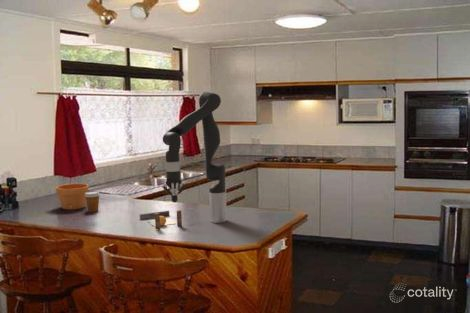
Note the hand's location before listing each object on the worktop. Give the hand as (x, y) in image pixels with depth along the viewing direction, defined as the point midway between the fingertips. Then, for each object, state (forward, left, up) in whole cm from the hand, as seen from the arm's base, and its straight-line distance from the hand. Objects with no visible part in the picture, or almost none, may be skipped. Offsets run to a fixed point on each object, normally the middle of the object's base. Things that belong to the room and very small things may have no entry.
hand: (174, 202), depth 285 cm
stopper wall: (-42, 0, -17) cm, 45 cm away
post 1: (-13, -6, -17) cm, 22 cm away
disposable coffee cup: (-83, -30, -17) cm, 90 cm away
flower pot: (-101, -40, -17) cm, 110 cm away
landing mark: (-27, 0, -17) cm, 32 cm away
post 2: (-13, +6, -17) cm, 22 cm away
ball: (-20, -2, -14) cm, 25 cm away
